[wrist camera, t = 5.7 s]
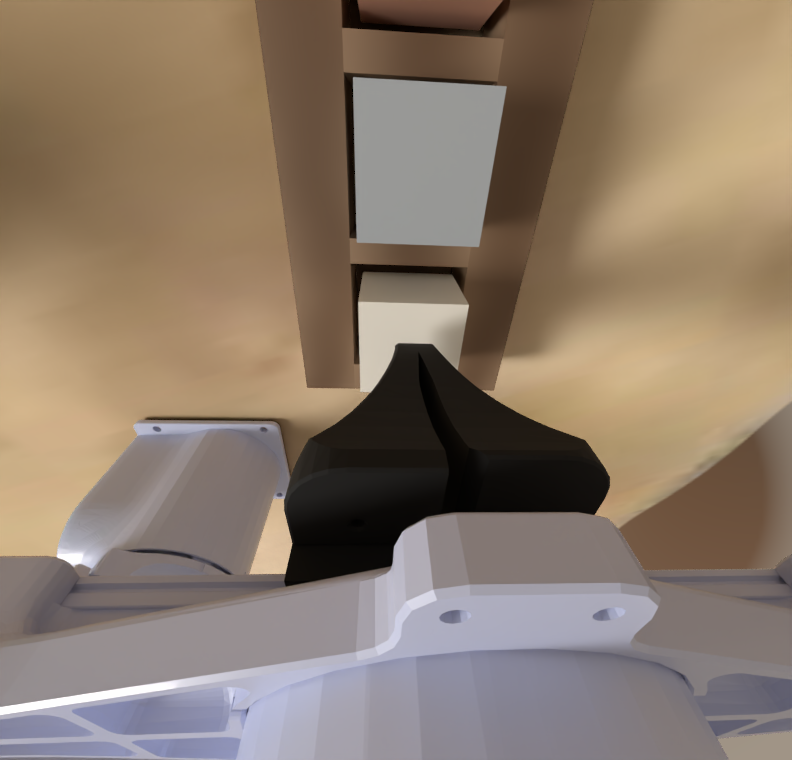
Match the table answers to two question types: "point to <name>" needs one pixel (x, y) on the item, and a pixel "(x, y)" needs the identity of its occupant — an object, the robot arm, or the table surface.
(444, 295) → the key ivory
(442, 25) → the key terracotta
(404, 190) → the key slate
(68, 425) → the table surface
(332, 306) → the frame
